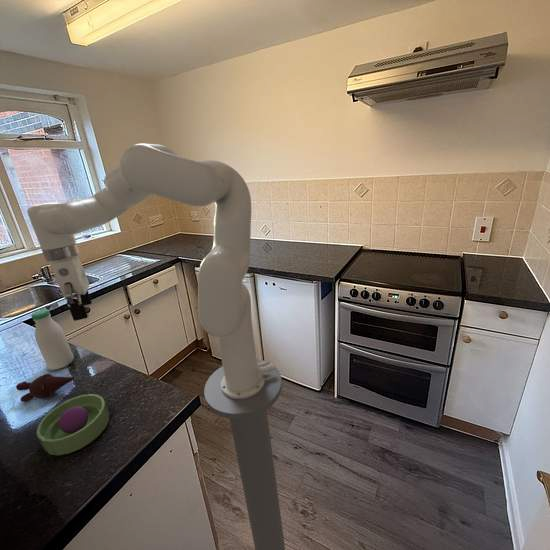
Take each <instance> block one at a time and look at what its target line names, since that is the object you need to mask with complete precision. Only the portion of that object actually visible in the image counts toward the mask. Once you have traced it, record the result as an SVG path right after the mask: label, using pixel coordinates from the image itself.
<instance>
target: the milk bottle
mask: <svg viewBox="0 0 550 550" xmlns="http://www.w3.org/2000/svg"><path fill="white" fill-rule="evenodd" d="M51 316H52V315H51V312H50V310H49V309H47V308H44V309H39V310H37V311H34V312H33V313H32V314H31V318H32V320H33V322H34V324H35V330H34V338H35V342H36V344H37V347H38V349H39V351H40V353H41V356H42V359H43V360H44V363H45V364H46V367H47V368H48V369H49V370H52V371H53V370H61V369H62V368H65V367H67V366H69V365H70V364H71V363H73V361H74V358H75V356H74V354H73V351H72V349H71V346H70V344H69V340H68V339H67V336H66V334H65V331H64V330H63V328H62V327H61V326H60V324H58V323H57V322H56V321H54V319H53V318H52V317H51Z"/></svg>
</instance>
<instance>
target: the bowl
mask: <svg viewBox="0 0 550 550" xmlns="http://www.w3.org/2000/svg"><path fill="white" fill-rule="evenodd" d="M76 406H78V407H82V408H84V409H85V410H86V411H87V413H88V421H87V423H86V425H85V426H84V427H83V428H82V429H81V430H79V431H77V432H75V433H65V432H63V431H62V430H61V429H60V426H59V420H60V417H61V415H62V414H63V413H64V412H65V411H66V410H67V409H69V408H71V407H76ZM109 422H110V412H109V410H108V406H107V403H106V401H105V400H104V398H103V396H101V395H99V394H94V393H93V394H92V393H88V394H82V395H81V394H80V395H79V396H75V397H73V398H70V399H68V400H66V401H64V402H62V403H60V404H59V405H57V406H55V407H54V408H53V409H51V410H50V411H48V413H47V414H46V415H45V416H44V417H42V419H41V421H40V422H39V424H38V426H37V429H36V436H37V439H38V441H39V443H40V444H41V446H42V449H43V450H44V452H46V453H47V454H49V455H51V456H63V455H68V454H71V453H74V452H76V451H78V450H81V449H83V448H84V447H86V446H87V445H89V444H91V443H92V442H93V441H94V440H96V439H97V438H98V437H99V436H100V435H101V434H102V433H103V431H104V430H105V429H106V428H107V426H108V423H109Z"/></svg>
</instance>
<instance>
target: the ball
mask: <svg viewBox="0 0 550 550" xmlns="http://www.w3.org/2000/svg"><path fill="white" fill-rule="evenodd" d="M87 421H88V413H87V411H86V410H85V409H84V408H82V407H78V406H76V407H71V408H69V409H67V410H66V411H65V412H64V413H63V414H62V415H61V417H60V420H59V426H60V429H61V430H62V431H63V432H65V433H75V432H77V431H79V430H81V429H82V428H83V427H84V426H85V425H86V423H87Z"/></svg>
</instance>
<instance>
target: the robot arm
mask: <svg viewBox="0 0 550 550" xmlns="http://www.w3.org/2000/svg"><path fill="white" fill-rule="evenodd" d="M153 195H155V196H157V197H161V198H164V199H168V200H170V201H173V202H178V203H180V204H184V205H187V206H190V207H191V206H192V207H206V206H209V205H211V204H214V205H215V212H214V217H213V242H212V243H213V244H212V248H211V250H210V251H209V252H208V253H207V254H206V255H205V256H204V258H203V259H202V260H201V263H200V265H199V269H198V272H197V313H198V314H197V315H198V320H199V324H200V325H201V327H202V329H203V330H204V332H206V333H207V334H208V335H210V336H212V337H215V338H217V343H218V344H217V345H218V348H219V354H220V358H221V364H222V366H223V370H224V375H225V376H224V377H223V378H222V381H221V389H222V392H223V393H224V394H225V395H226V396H228V397H229V398H233V399H245V398H249V397H251V396H253V395H255V394H257V393H258V392H259V391H260V390H261V389H262V388H263V386H264V383H265V377H264V375H265V373H266V372H270V371H273V370H274V366H275V365H274V363H271V364H269V365H267V363H266V361H267V360H264V362H262V363H259V364H258V363H257V359H258V358H257V352H256V344H255V338H254V328H253V320H252V319H253V318H252V299H251V295H250V291H249V289H248V287H247V286H246V285H245V284H244V283H243V280H244V278H245V277H246V275H247V273H248V271H249V268H250V267H249V266H250V263H251V261H250V260H251V258H250V257H251V256H250V255H251V238H252V237H251V235H252V233H251V232H252V197H251V193H250V189H249V187H248V185H247V182H246V180H245V179H244V178H243V176H242V175H241V174H240V173H239V172H238V171H237V170H235V168H233V167H232V166H230V165H229V164H227V163H225V162H222V161H219V160H211V159H210V160H199V161H197V160H193V159H190V158H185V157H182V156H180V155H178V154H177V152H175V151H174V150H173V149H171V148H170V147H168V146H166V145H163V144H155V143H136V144H135V143H134V144H132V145H130V146H129V147H126V149H125V150H124V151H123V153H122V154H121V157H120V160H119V165H118V166H116V167H115V168H113V169H111V170H110V171H108V172H106V174H105V176H104V188H102V189H101V190H99V191H98V192H96V193H93V194H92V195H90V196H88V197H84V198H82V197H81V198H77V199H72V200H68V201H63V202H48V203H47V202H46V203H39V204H35V205H31V206H29V207H28V208H27V216H28V218H29V221H30V224H31V226H32V229H33V230H34V234H35V236H36V239H37V242H38V244H39V246H40V249H41V252H42V254H43V257H44V260H45V263H49V264H51V266H52V271H53V273H54V276H55V279H56V282H57V284H58V287H59V290H60V292H61V295H62V297H63V298H65V299H66V304H67V307H68V310H69V312H70V314H71V317H72V320H73V321H74V322H77V321H81V320H84V319H88V316H89V315H88V312H87V310H86V308H85V307H86V306H88V305H92V303H93V302H92V298H91V296H90V293H89V290H88V289H89V286H90V282H89V279H88V276H87V273H86V271H85V269H84V266H83V265H82V261H81V259H80V256H81V252H80V249H79V246H78V243H77V240H76V237H75V235H77V234H81V233H84V232H87V231H89V230H92V229H95V228H98V227H102V226H104V225H105V224H107V223H110V222H112V221H113V220H115V219H116V218H118V217H120V216H121V215H124V214H125V213H126V212H128V211H129V210H131V209H132V208H133V207H135V206H136V205H138V204H140V203H141V202H144V200H146V199H148V198H150V197H151V196H153ZM264 366H265V367H264Z"/></svg>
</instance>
